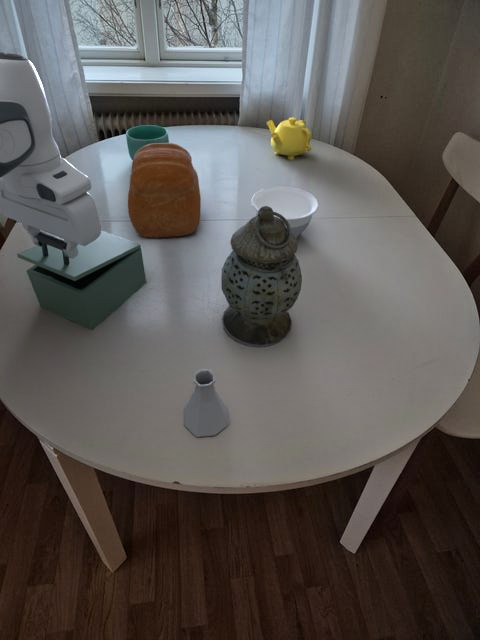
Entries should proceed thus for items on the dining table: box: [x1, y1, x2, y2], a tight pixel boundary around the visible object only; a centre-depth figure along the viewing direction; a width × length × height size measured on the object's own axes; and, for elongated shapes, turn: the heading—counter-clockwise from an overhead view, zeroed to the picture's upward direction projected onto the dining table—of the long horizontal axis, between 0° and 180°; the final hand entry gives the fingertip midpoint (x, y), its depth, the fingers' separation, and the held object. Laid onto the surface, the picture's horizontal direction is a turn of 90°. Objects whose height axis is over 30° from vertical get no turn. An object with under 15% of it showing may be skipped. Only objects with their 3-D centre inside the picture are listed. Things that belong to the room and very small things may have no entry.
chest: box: [25, 247, 148, 331], centre depth 85 cm, size 17×14×9 cm
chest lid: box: [16, 229, 142, 281], centre depth 79 cm, size 17×14×5 cm
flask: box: [183, 368, 230, 438], centre depth 64 cm, size 7×7×10 cm
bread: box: [127, 142, 202, 239], centre depth 106 cm, size 18×22×17 cm
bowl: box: [250, 185, 319, 240], centre depth 104 cm, size 16×16×9 cm
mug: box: [125, 124, 170, 161], centre depth 131 cm, size 17×13×10 cm
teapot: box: [266, 117, 313, 160], centre depth 140 cm, size 14×14×11 cm
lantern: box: [220, 206, 303, 348], centre depth 75 cm, size 14×14×25 cm
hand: (56, 250), depth 75 cm, fingers closed on chest lid, 6 cm apart
